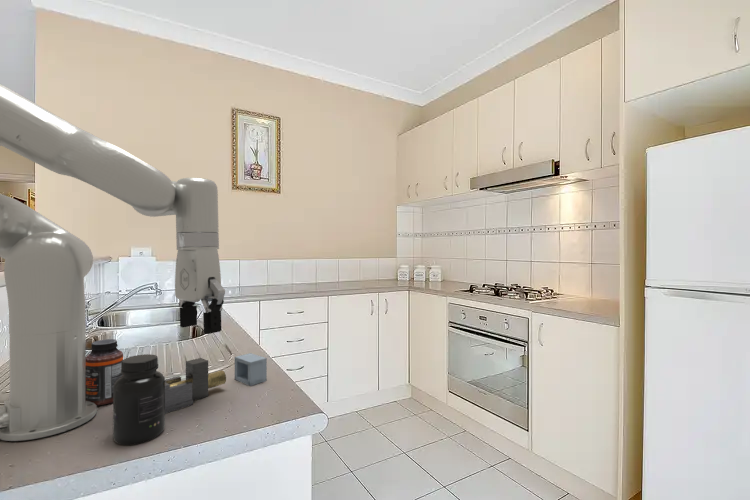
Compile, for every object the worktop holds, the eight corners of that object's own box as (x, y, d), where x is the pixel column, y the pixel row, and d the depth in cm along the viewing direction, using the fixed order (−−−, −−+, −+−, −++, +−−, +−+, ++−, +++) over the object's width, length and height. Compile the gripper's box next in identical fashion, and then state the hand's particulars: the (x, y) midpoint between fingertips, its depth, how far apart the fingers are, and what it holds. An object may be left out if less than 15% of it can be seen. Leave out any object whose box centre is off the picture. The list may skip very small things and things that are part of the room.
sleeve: (133, 423, 62) (133, 394, 62) (120, 413, 65) (120, 386, 65) (193, 404, 69) (193, 378, 69) (178, 396, 73) (178, 371, 73)
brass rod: (138, 418, 64) (138, 377, 64) (132, 413, 65) (132, 373, 65) (226, 390, 76) (226, 356, 76) (218, 387, 78) (218, 353, 78)
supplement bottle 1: (76, 405, 69) (76, 344, 69) (108, 392, 75) (107, 336, 75) (101, 408, 67) (100, 346, 67) (131, 396, 73) (130, 338, 73)
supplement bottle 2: (102, 441, 56) (102, 361, 56) (145, 421, 62) (145, 350, 62) (133, 450, 53) (133, 367, 53) (175, 429, 60) (175, 354, 60)
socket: (250, 386, 78) (250, 362, 78) (234, 379, 82) (234, 356, 82) (266, 380, 82) (266, 358, 82) (250, 374, 86) (250, 353, 85)
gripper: (159, 243, 75) (161, 327, 76) (200, 241, 64) (202, 339, 65) (196, 242, 81) (198, 320, 81) (239, 241, 70) (241, 331, 71)
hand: (200, 329), depth 73 cm, fingers open, 9 cm apart
